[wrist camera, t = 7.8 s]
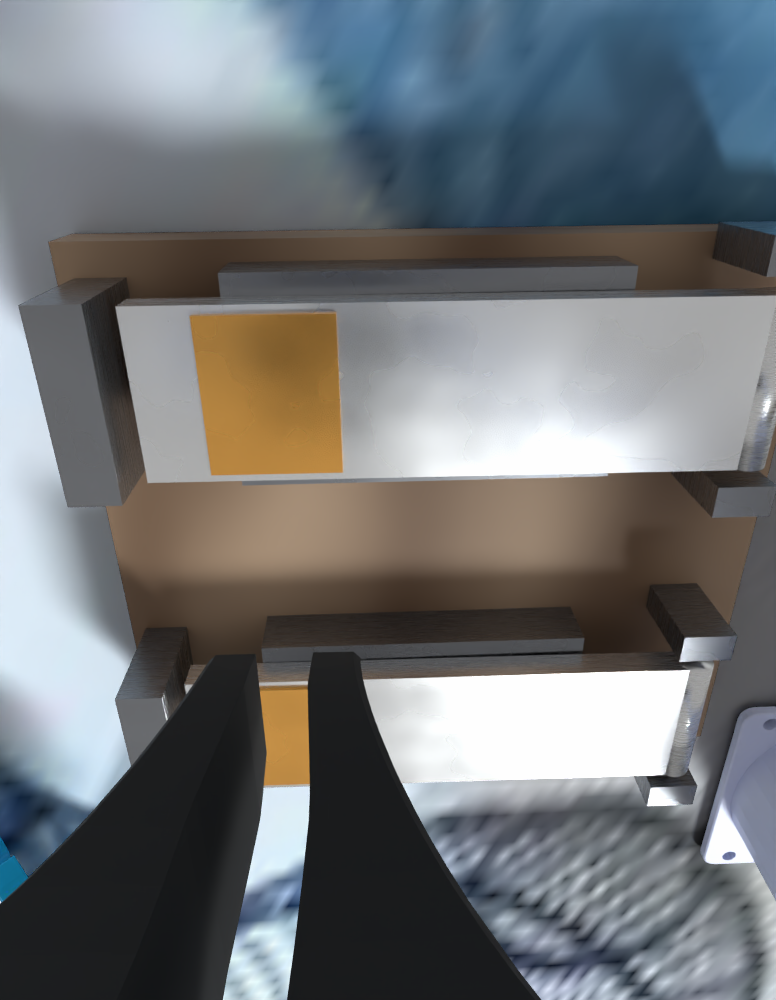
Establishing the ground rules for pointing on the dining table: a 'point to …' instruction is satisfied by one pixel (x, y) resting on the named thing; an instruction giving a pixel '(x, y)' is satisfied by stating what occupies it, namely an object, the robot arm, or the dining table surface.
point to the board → (414, 504)
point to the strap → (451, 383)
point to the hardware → (372, 636)
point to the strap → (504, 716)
